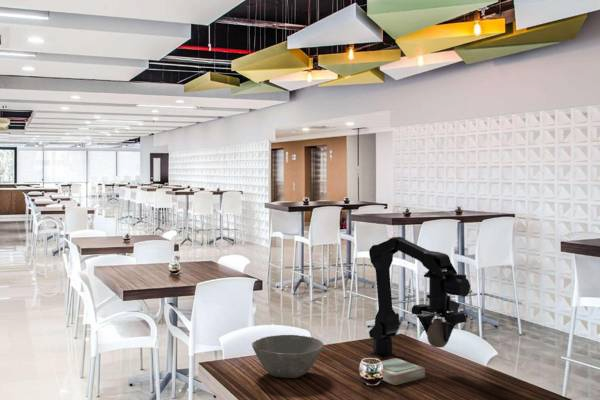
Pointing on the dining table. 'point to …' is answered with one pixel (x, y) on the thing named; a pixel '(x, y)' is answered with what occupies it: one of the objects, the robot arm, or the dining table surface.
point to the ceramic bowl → (287, 354)
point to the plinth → (401, 371)
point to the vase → (436, 334)
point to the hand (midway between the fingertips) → (437, 339)
